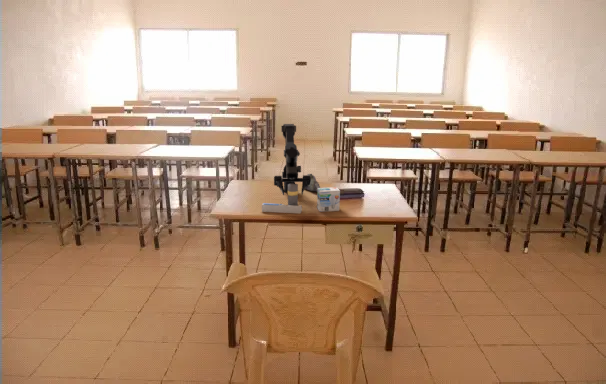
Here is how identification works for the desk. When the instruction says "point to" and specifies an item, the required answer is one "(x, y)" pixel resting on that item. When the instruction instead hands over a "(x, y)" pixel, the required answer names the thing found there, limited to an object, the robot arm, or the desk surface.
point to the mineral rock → (313, 184)
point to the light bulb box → (328, 199)
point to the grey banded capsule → (293, 194)
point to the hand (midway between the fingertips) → (292, 194)
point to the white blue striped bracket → (281, 208)
